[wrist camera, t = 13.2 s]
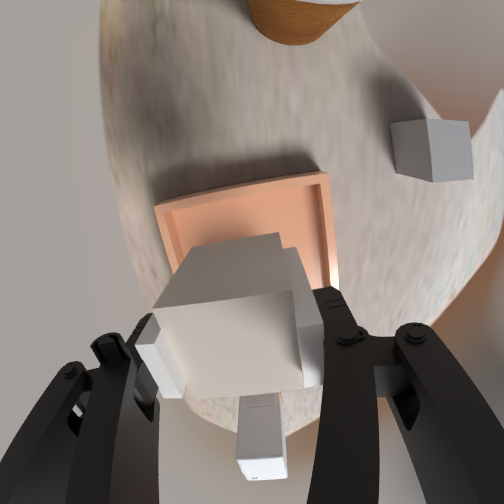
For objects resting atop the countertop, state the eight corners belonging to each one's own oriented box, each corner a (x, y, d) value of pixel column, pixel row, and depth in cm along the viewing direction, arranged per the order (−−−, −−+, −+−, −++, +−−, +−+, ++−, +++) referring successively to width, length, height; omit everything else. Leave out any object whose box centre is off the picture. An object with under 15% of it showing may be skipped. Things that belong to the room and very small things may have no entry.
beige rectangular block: (192, 246, 14) (152, 308, 8) (278, 231, 14) (292, 289, 8) (212, 319, 16) (193, 398, 10) (290, 308, 15) (304, 388, 10)
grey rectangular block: (389, 123, 20) (426, 118, 14) (428, 123, 19) (468, 121, 14) (395, 173, 21) (432, 182, 16) (433, 169, 21) (473, 179, 15)
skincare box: (282, 396, 31) (288, 478, 20) (249, 399, 31) (245, 481, 20) (278, 364, 29) (284, 457, 18) (240, 368, 29) (233, 460, 18)
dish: (163, 200, 22) (153, 206, 20) (320, 170, 21) (327, 173, 19) (202, 329, 27) (198, 344, 25) (333, 309, 26) (340, 323, 24)
